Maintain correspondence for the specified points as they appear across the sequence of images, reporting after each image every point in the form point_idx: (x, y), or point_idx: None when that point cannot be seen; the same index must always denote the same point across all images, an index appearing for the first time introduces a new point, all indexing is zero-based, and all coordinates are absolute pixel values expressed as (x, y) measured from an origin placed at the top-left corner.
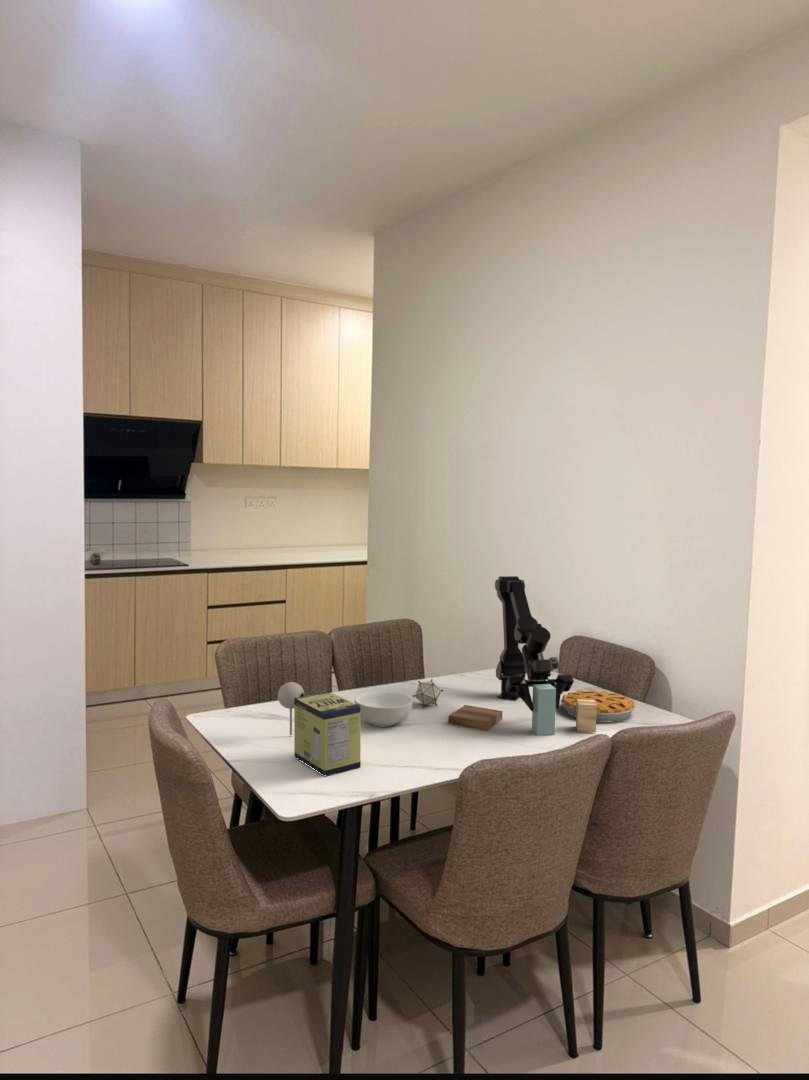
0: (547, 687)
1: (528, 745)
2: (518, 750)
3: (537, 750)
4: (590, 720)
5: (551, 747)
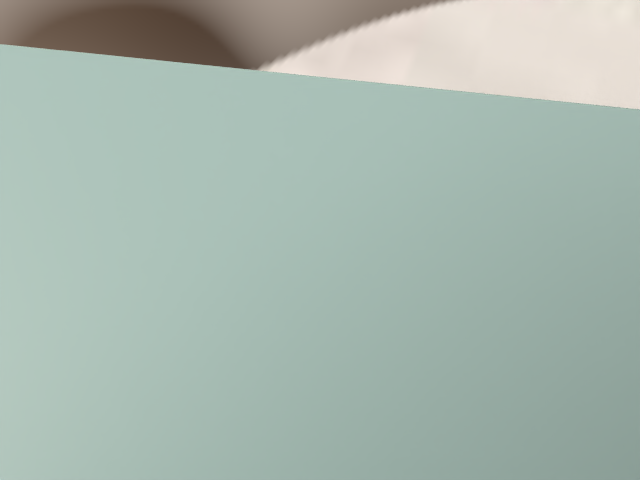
0: (242, 386)
1: None
2: (615, 41)
3: (480, 13)
4: None
5: (354, 44)
